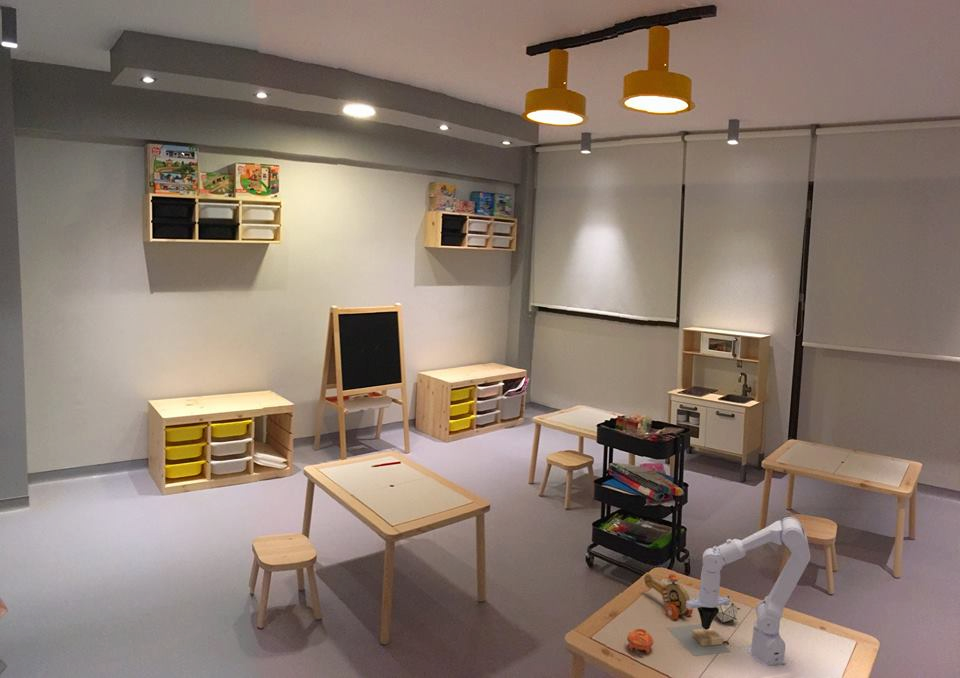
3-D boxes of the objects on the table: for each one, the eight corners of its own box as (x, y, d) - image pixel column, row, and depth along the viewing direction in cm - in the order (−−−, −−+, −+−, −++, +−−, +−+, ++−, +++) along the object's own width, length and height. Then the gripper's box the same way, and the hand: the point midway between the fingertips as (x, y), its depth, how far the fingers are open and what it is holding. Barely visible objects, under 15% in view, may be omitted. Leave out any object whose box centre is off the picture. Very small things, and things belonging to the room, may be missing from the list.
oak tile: (702, 646, 217) (721, 644, 219) (703, 640, 217) (722, 638, 219) (691, 636, 223) (710, 634, 225) (692, 630, 222) (711, 627, 224)
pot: (635, 658, 209) (634, 635, 210) (623, 650, 216) (622, 627, 217) (659, 655, 211) (657, 632, 212) (646, 646, 219) (645, 624, 219)
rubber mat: (730, 653, 215) (730, 651, 215) (693, 657, 212) (693, 656, 212) (701, 625, 231) (701, 624, 230) (666, 629, 227) (666, 627, 227)
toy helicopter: (676, 624, 230) (680, 585, 229) (635, 595, 249) (638, 558, 247) (694, 619, 234) (698, 581, 232) (653, 591, 252) (656, 555, 251)
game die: (729, 633, 233) (746, 620, 227) (706, 623, 233) (722, 610, 227) (727, 610, 240) (744, 596, 234) (705, 600, 240) (721, 586, 234)
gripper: (721, 579, 224) (717, 618, 226) (682, 583, 220) (678, 623, 222) (735, 590, 217) (731, 630, 219) (694, 593, 213) (690, 635, 215)
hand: (705, 627), depth 220 cm, fingers closed
